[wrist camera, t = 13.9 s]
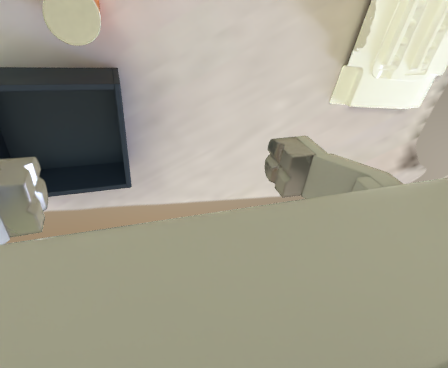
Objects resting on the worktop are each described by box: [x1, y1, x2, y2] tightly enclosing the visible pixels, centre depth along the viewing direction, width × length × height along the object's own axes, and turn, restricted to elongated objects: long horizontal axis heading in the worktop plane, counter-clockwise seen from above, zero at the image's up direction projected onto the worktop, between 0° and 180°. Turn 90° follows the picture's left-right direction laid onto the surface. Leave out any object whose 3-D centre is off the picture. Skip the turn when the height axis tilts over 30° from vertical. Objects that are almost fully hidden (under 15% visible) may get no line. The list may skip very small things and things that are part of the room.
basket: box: [0, 68, 132, 197], centre depth 35 cm, size 14×13×6 cm
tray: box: [330, 0, 448, 109], centre depth 43 cm, size 20×28×4 cm
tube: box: [43, 0, 101, 46], centre depth 27 cm, size 4×4×10 cm
